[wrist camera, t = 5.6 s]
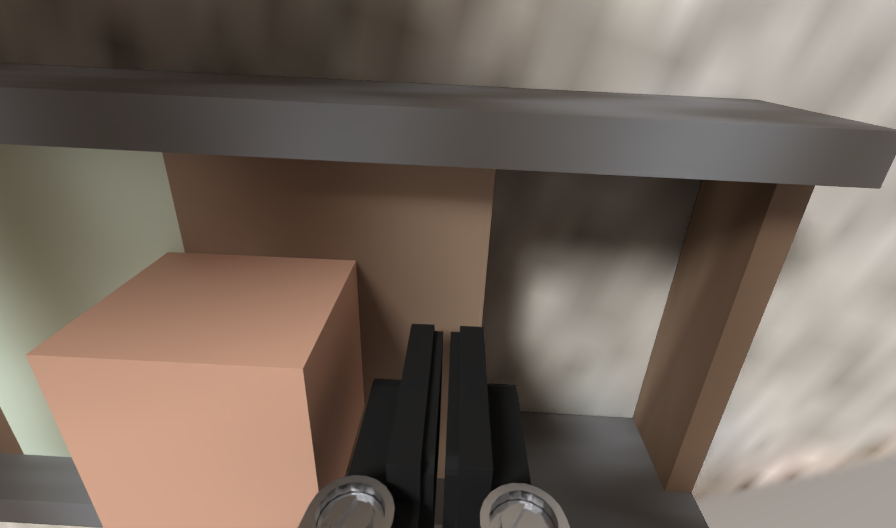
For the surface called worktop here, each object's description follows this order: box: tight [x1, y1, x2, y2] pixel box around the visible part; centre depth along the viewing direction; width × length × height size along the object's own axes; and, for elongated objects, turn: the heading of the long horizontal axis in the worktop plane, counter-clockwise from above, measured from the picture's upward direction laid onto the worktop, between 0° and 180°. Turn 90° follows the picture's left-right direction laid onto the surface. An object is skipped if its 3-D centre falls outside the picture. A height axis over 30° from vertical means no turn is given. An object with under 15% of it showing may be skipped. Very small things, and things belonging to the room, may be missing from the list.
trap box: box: [0, 63, 896, 528], centre depth 13 cm, size 28×12×4 cm, turn 88°
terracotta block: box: [26, 252, 364, 528], centre depth 10 cm, size 4×4×4 cm
